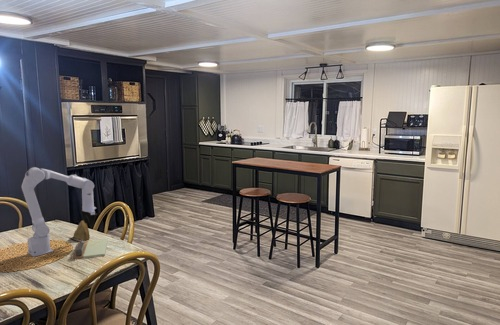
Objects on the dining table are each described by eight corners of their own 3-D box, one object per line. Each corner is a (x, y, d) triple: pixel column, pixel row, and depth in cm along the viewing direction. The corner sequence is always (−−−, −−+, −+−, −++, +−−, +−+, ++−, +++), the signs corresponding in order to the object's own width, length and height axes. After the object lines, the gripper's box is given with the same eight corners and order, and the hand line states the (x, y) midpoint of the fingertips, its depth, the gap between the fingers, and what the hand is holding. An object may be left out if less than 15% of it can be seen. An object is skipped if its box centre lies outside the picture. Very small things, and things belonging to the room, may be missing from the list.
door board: (78, 243, 189) (78, 235, 189) (107, 240, 194) (107, 232, 194) (72, 259, 169) (71, 250, 168) (105, 255, 174) (104, 247, 173)
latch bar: (78, 248, 179) (78, 243, 179) (84, 248, 180) (83, 242, 179) (76, 255, 170) (75, 250, 170) (81, 255, 171) (81, 249, 171)
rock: (94, 235, 196) (93, 228, 204) (84, 225, 192) (82, 218, 200) (78, 248, 193) (77, 240, 202) (67, 239, 189) (66, 231, 197)
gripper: (100, 202, 187) (101, 226, 189) (90, 197, 198) (92, 220, 200) (86, 204, 183) (87, 228, 184) (77, 199, 193) (79, 222, 195)
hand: (89, 224), depth 192 cm, fingers open, 7 cm apart
